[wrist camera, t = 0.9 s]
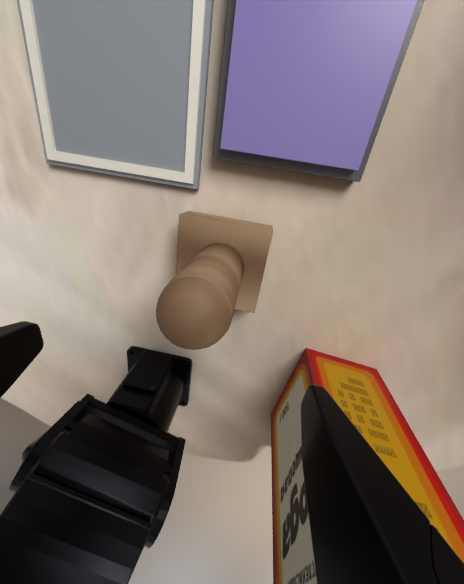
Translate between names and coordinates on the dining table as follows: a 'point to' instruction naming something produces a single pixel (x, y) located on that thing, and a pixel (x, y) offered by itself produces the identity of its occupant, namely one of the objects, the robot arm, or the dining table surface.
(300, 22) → the ink pad
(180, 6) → the print card
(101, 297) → the dining table surface
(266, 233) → the stamp
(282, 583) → the baking soda box
